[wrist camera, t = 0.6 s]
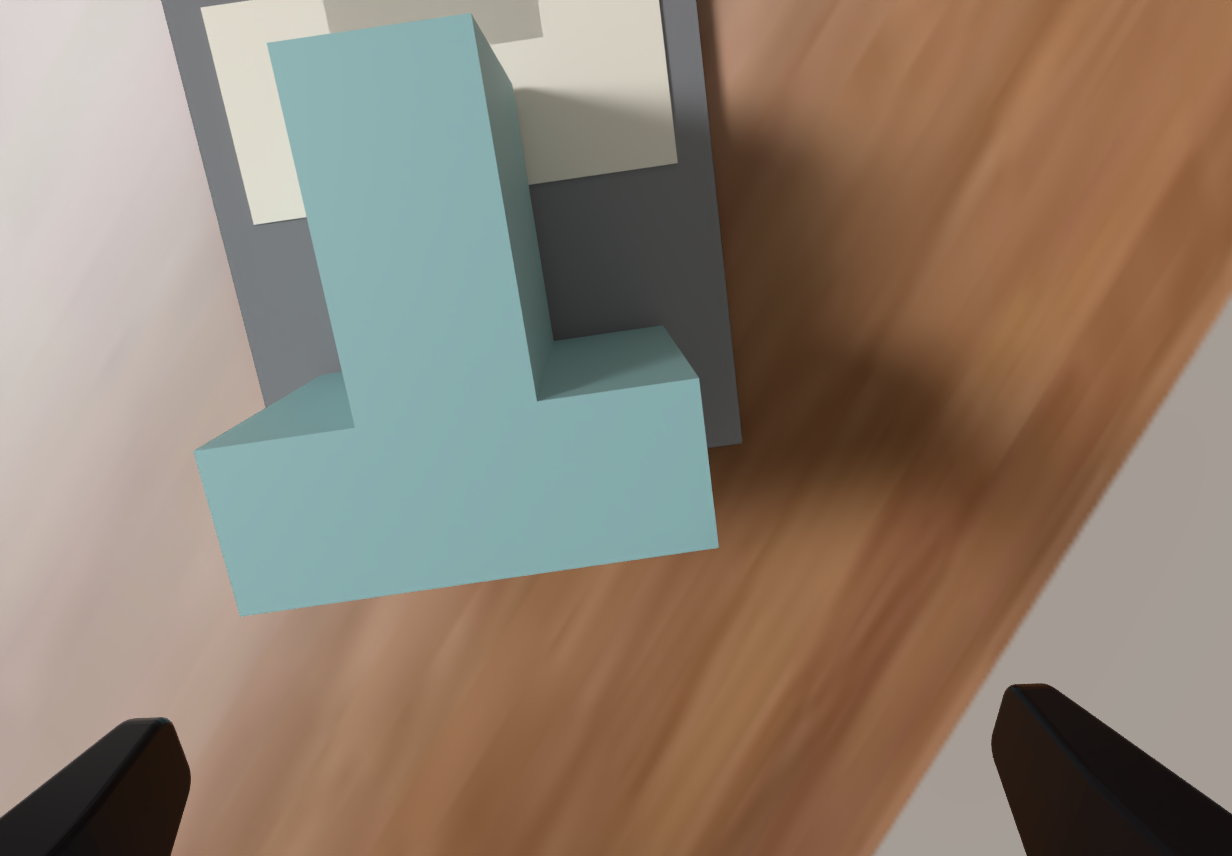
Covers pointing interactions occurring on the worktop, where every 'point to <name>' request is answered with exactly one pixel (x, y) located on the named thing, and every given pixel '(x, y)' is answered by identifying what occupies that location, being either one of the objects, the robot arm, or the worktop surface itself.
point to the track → (554, 158)
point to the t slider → (443, 358)
